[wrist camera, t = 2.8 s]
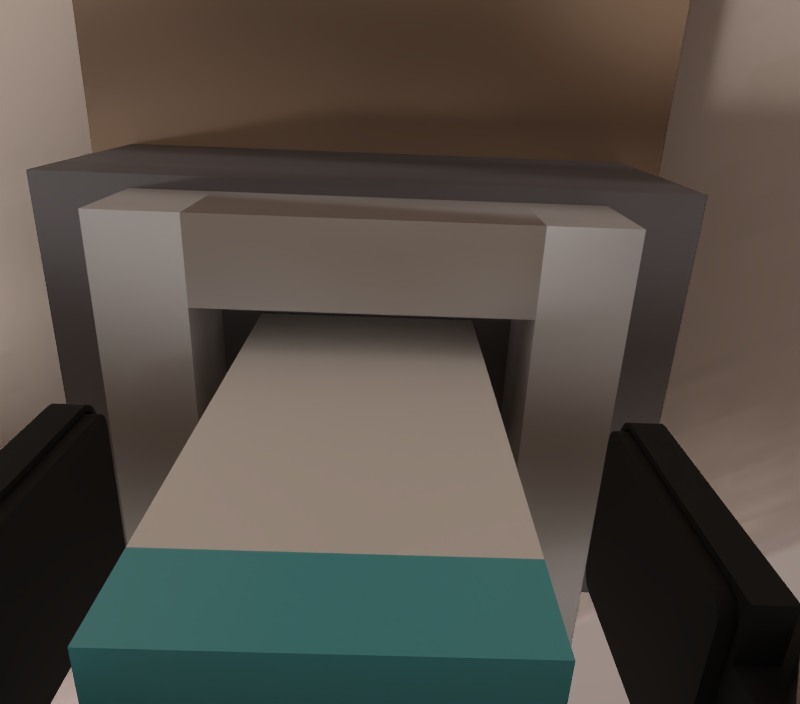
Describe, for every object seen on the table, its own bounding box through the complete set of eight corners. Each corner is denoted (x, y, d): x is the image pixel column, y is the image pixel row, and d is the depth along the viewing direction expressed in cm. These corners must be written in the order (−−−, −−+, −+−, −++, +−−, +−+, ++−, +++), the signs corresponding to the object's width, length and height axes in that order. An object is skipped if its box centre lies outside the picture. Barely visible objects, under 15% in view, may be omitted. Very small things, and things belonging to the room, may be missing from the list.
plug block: (457, 496, 14) (520, 950, 7) (269, 490, 14) (129, 944, 7) (471, 320, 13) (575, 661, 5) (261, 313, 13) (66, 648, 5)
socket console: (590, 448, 21) (703, 665, 13) (151, 434, 21) (3, 647, 13) (757, -538, 13) (1325, -1512, 5) (29, -579, 13) (-584, -1669, 5)
